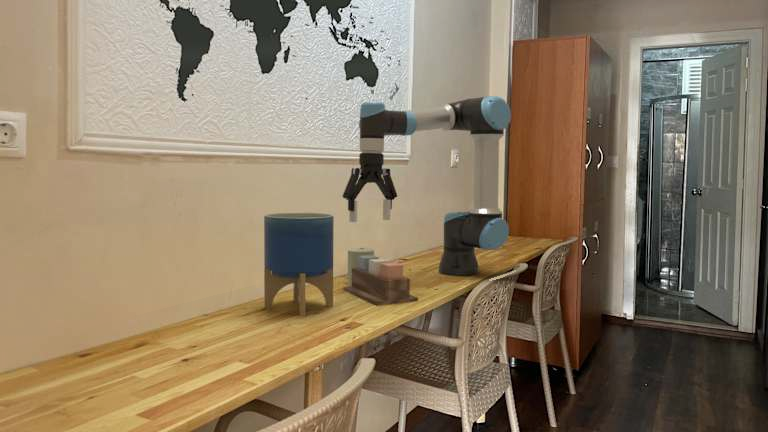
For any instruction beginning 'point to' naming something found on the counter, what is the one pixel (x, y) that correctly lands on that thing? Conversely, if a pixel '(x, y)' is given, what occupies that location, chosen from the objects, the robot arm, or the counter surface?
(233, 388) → the counter surface
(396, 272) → the key terracotta
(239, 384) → the counter surface
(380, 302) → the brown block holder tray
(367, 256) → the grey square block
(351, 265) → the can
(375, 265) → the key white
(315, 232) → the planter
